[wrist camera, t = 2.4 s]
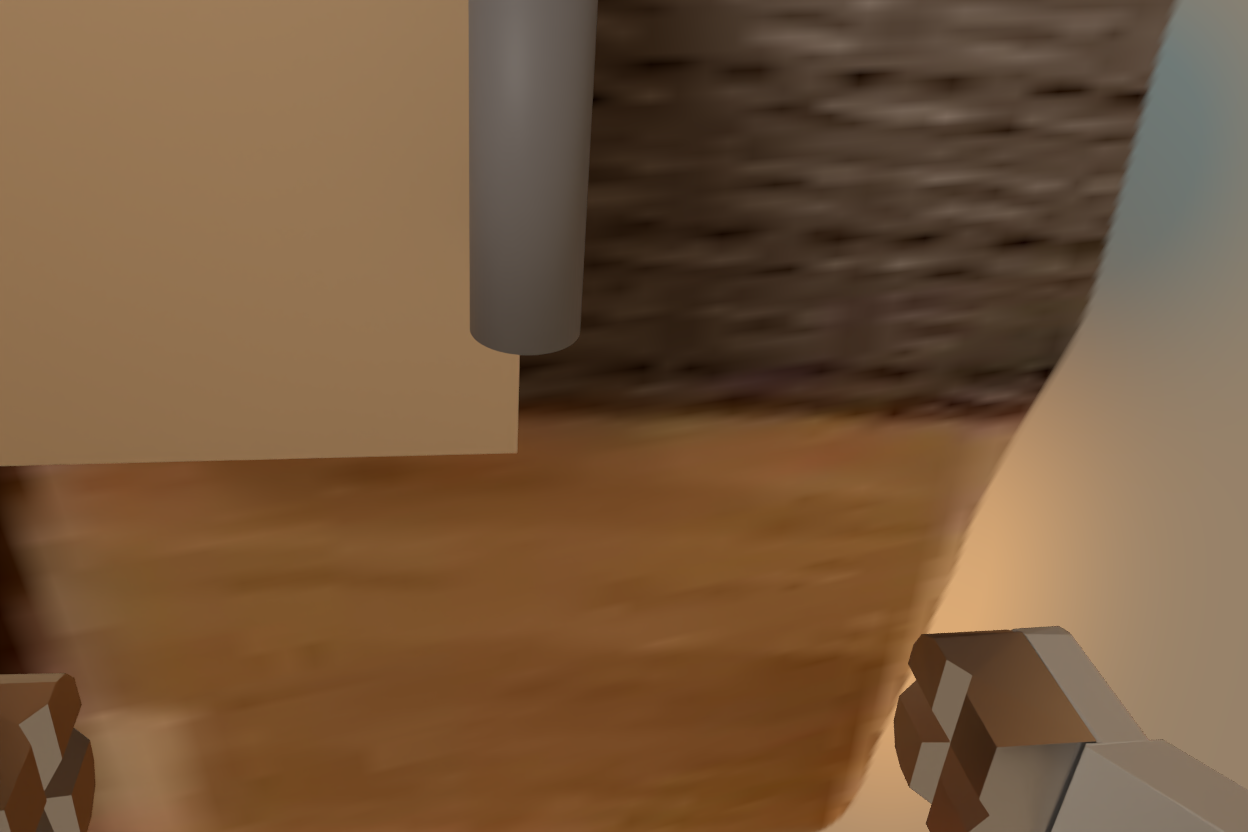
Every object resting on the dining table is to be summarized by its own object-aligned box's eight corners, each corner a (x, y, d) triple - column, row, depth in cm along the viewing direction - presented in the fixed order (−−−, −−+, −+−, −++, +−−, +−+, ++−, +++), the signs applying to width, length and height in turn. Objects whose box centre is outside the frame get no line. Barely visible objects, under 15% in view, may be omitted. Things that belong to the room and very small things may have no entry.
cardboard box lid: (-394, -564, 18) (-682, -665, 13) (588, -459, 21) (636, -511, 16) (-78, 455, 29) (-178, 601, 24) (551, 440, 31) (573, 569, 27)
